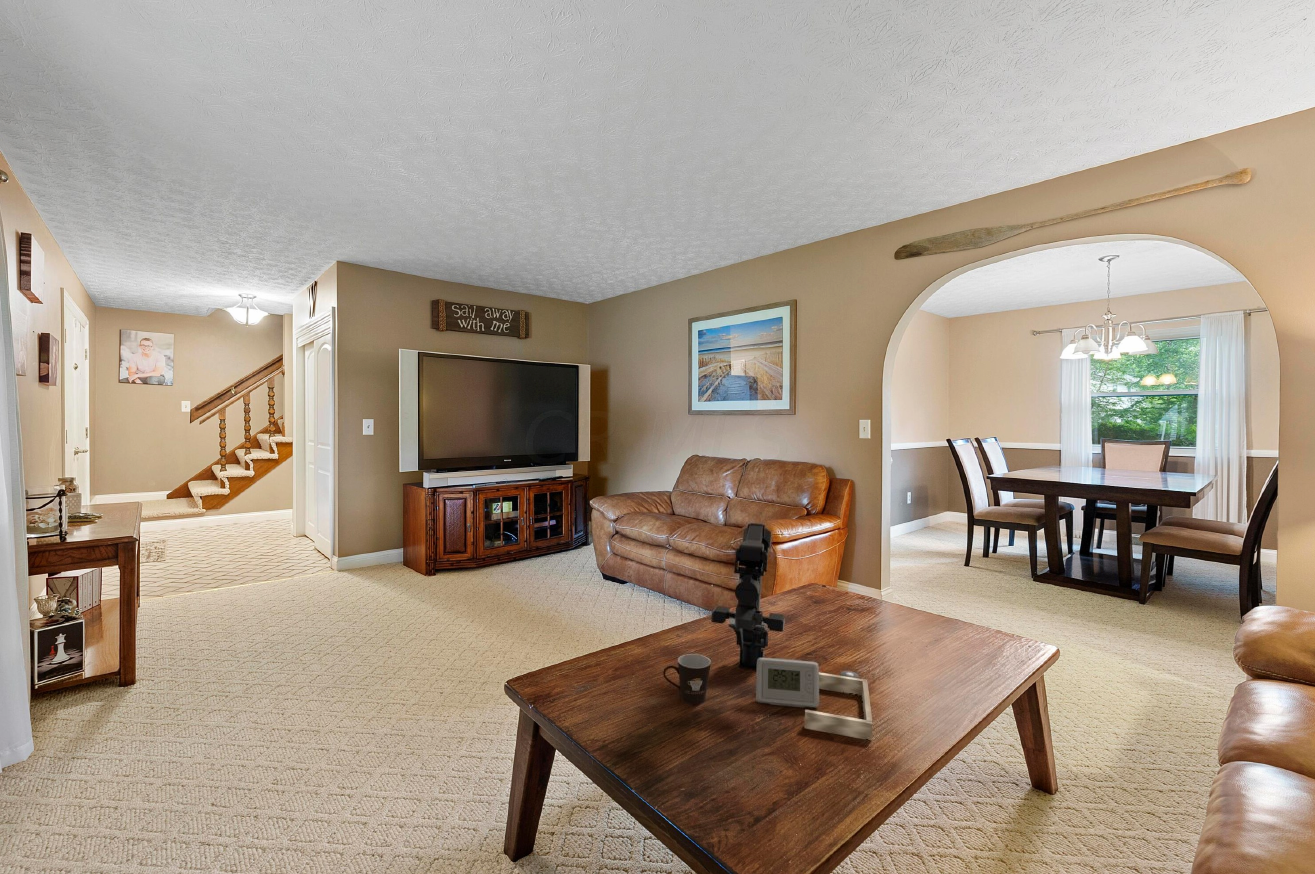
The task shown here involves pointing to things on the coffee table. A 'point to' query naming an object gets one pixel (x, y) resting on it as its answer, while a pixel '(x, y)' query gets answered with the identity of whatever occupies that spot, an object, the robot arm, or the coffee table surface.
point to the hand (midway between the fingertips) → (746, 650)
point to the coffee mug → (692, 677)
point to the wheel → (849, 674)
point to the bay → (837, 722)
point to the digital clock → (787, 682)
